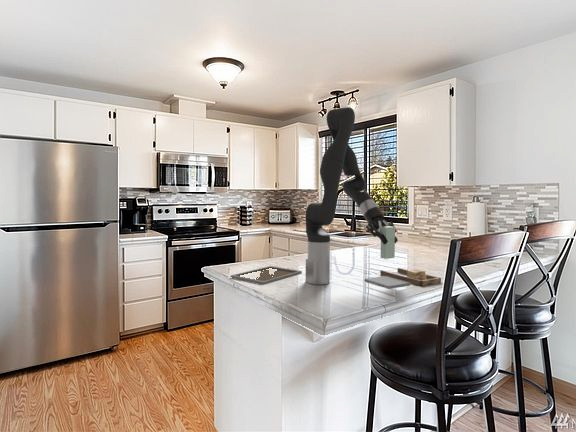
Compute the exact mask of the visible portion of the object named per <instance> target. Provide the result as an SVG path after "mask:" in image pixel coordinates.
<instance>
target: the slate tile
mask: <svg viewBox="0 0 576 432" xmlns="http://www.w3.org/2000/svg"><path fill="white" fill-rule="evenodd" d="M364 281H365V282H367V283H371V284H373V285H374V284H375V285H377V286H380V287H384V288H387V289H391V288H392V289H393V288H397V287H405V286H410V285H411V283H410V282H406V281H402V280H399V279H395V278H391V277H388V276H383V275H380V276H375V277H374V276H373V277H369V278H368V277H367V278H364Z"/></svg>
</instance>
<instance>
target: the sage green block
mask: <svg viewBox="0 0 576 432" xmlns="http://www.w3.org/2000/svg"><path fill="white" fill-rule="evenodd" d="M395 229H396V227H392V226H386V227H381V231H382V232H383V234H384V236H385V237H386V239H387V240H388V242H387V243H386V244H383V243H382V241H381V240H380V259H384V260H387V259H388V260H389V259H395V258H396V257H395V254H396V253H395V252H396V247H395V246H396V243H395V236H396V233H395Z"/></svg>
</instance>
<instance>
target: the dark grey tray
mask: <svg viewBox="0 0 576 432" xmlns="http://www.w3.org/2000/svg"><path fill="white" fill-rule="evenodd" d="M269 268H272V269H277V271H275V272H274V275H273V274H271V275H270V274H269V270H266V269H269ZM263 270H264V271H263ZM257 271H261V273H260V277H259V278H258V277H257V278H258V279H257V278H256V280H255V279H250V278H245V277H240V275H244V274H248V273H252V272H257ZM262 272H263V273H262ZM300 274H303V271H302V270H297V269H293V268H289V267H288V268H284V267H281V266H275V265H274V266H273V265H268V266H265V267H260V268H257V269H252V270H249V271H247V270H246V271H244V272H240V273H236V274H231V275H230V277H232V278H231V279H233V278H236V279H235V280H238V279H241V280H240V281H243V280H245V281H244V282H248V281H250V282H249V283H252V282H254V283H253V284H257V283H258V285H261V286H262V285H267V284H271V283H274V282H278V281H280V280H285V279H287V278H290V277H293V276H297V275H300ZM272 276H273V277H272ZM277 280H278V281H277ZM270 282H271V283H270Z"/></svg>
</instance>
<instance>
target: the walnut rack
mask: <svg viewBox="0 0 576 432" xmlns="http://www.w3.org/2000/svg"><path fill="white" fill-rule="evenodd" d="M407 270H408V269H405V268H400V267H398V268H397V273H400V274H397V273H395V272H389V271H386V270H380V271H379V273H380V274H379V275H380V276H388V277H391V278H395V279H399V280H402V281H406V282H410V284H413V285H415V286H418V287H419V286H420V287H425V286H429V285H430V286H431V285H436V283H437V284H440V283H442V277H438V276H435V275H434V276H433V275H430V274H426V278H427V280H417V279H414V278H410V277H407V276H408V274H407ZM405 275H406V276H405Z"/></svg>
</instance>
